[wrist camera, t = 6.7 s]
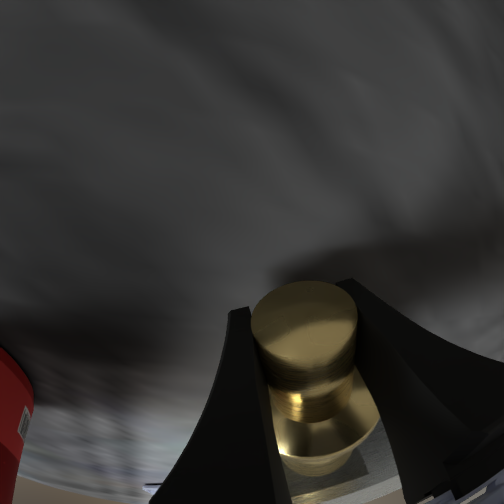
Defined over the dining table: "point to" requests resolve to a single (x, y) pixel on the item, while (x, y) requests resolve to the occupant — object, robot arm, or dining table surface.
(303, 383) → the brass flanged cylinder
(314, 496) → the housing
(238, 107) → the dining table surface
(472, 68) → the dining table surface
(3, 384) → the canned food
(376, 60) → the dining table surface
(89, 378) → the dining table surface
